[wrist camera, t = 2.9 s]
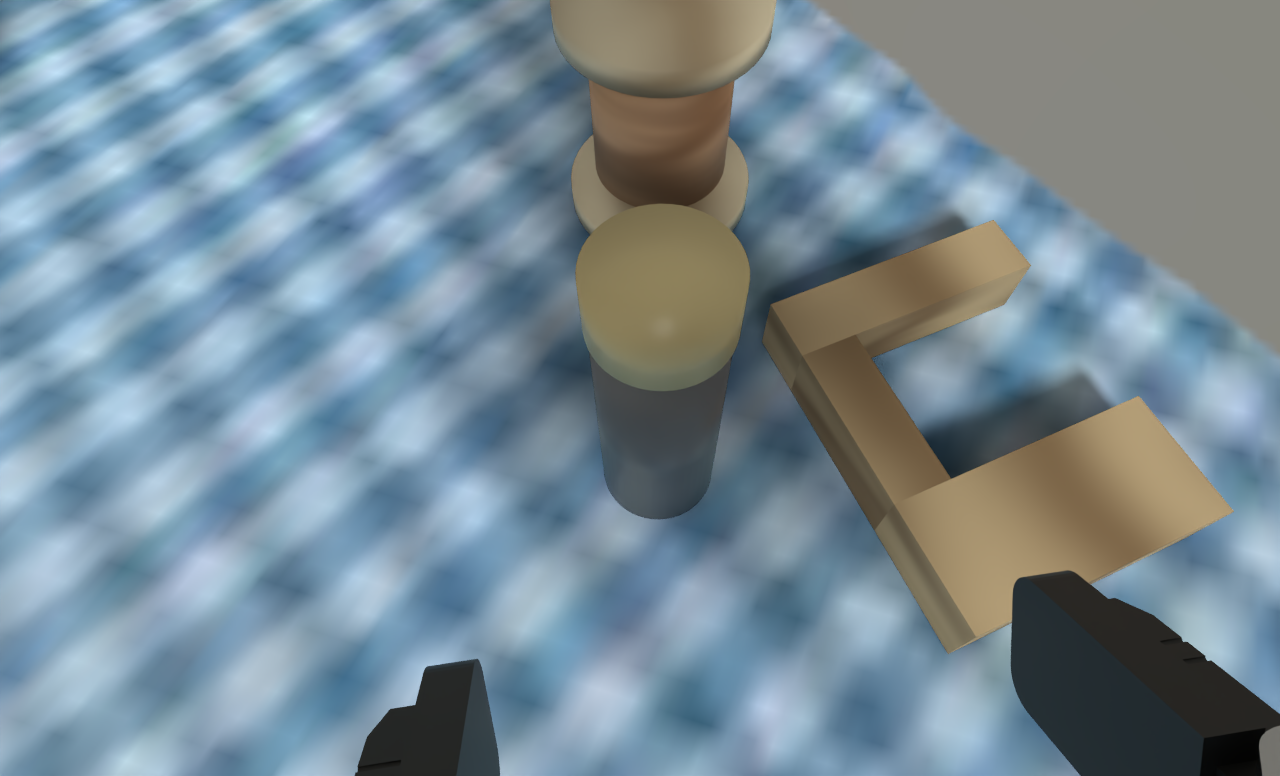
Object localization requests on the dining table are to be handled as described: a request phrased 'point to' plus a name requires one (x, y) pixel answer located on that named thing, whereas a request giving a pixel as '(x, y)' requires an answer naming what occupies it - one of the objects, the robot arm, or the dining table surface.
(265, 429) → the dining table surface
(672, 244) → the grey cylinder tan cap
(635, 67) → the bobbin
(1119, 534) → the tan c-shaped clamp
